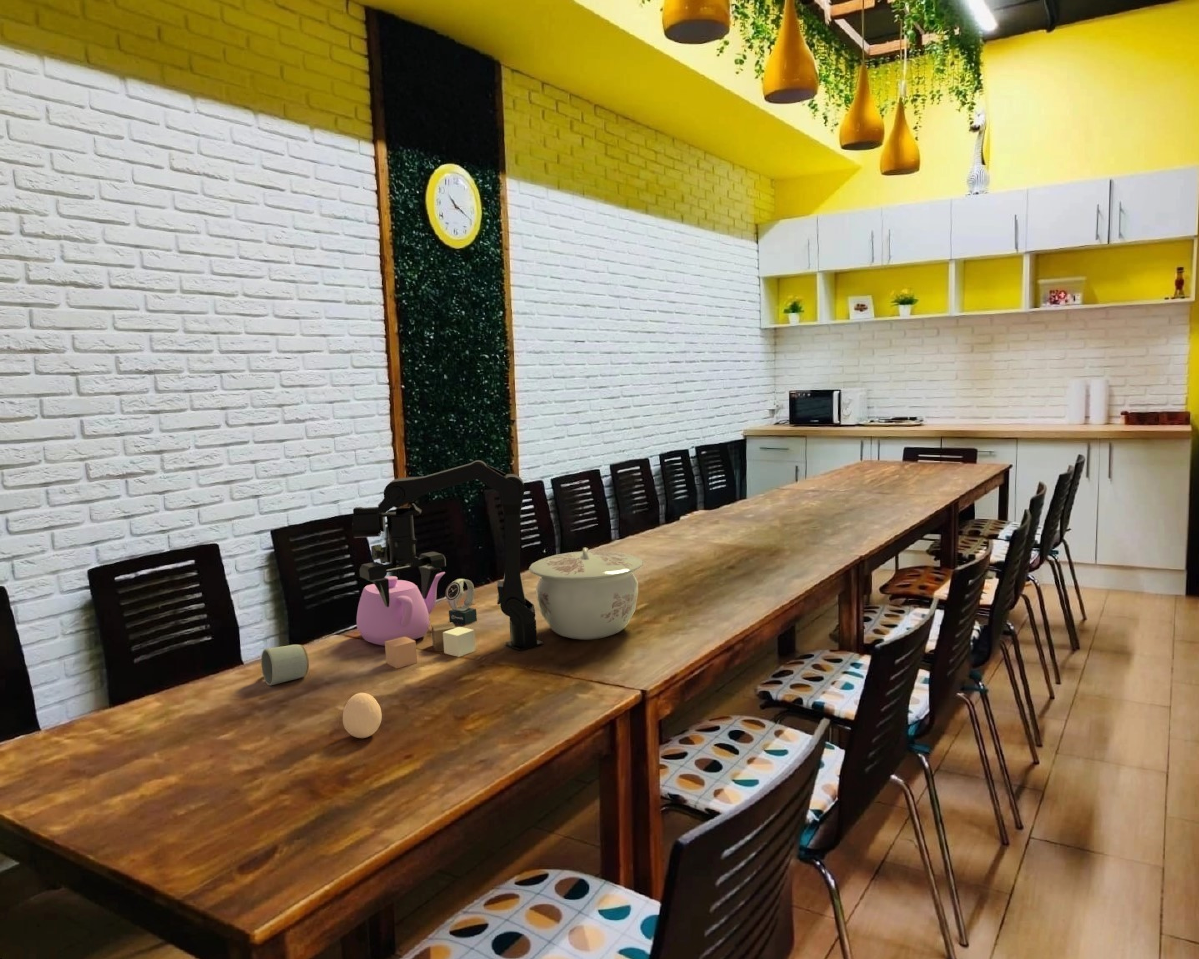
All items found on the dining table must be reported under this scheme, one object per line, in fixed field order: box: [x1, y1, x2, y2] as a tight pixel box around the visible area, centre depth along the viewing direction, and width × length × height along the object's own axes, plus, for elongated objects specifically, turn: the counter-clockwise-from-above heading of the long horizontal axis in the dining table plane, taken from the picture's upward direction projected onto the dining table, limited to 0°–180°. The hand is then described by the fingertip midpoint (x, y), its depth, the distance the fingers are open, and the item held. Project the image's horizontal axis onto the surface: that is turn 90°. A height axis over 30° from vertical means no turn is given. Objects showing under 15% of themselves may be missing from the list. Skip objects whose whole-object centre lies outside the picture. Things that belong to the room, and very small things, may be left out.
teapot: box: [356, 571, 446, 647], centre depth 210 cm, size 23×21×15 cm
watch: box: [445, 578, 478, 626], centre depth 221 cm, size 6×8×11 cm
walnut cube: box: [430, 622, 457, 652], centre depth 201 cm, size 5×5×5 cm
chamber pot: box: [528, 547, 644, 641], centre depth 207 cm, size 28×28×21 cm
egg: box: [342, 692, 383, 739], centre depth 152 cm, size 7×7×8 cm
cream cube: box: [443, 626, 476, 658], centre depth 197 cm, size 5×5×5 cm
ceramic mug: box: [260, 644, 310, 686], centre depth 184 cm, size 11×8×8 cm
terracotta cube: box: [384, 637, 418, 669], centre depth 191 cm, size 5×5×5 cm
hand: (406, 602), depth 196 cm, fingers open, 9 cm apart
